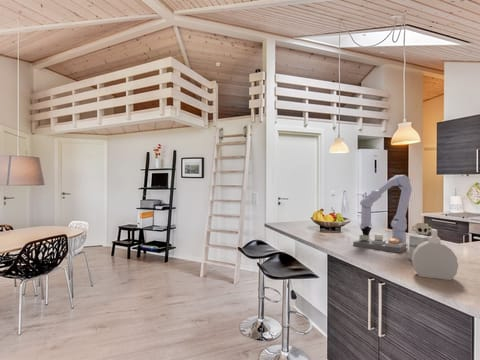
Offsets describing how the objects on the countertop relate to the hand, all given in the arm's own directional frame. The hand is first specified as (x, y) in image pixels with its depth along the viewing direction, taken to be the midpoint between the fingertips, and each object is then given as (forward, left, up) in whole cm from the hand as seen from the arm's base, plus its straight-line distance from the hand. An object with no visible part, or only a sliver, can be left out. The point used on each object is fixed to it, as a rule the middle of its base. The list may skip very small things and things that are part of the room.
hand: (365, 238), depth 190 cm
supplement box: (+20, +34, -4) cm, 40 cm away
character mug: (-26, +26, -4) cm, 37 cm away
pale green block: (+3, 0, -1) cm, 3 cm away
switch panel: (+3, +9, -3) cm, 10 cm away
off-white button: (+4, +9, +1) cm, 10 cm away
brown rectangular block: (+3, +18, -1) cm, 18 cm away
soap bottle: (+45, +44, -4) cm, 63 cm away
